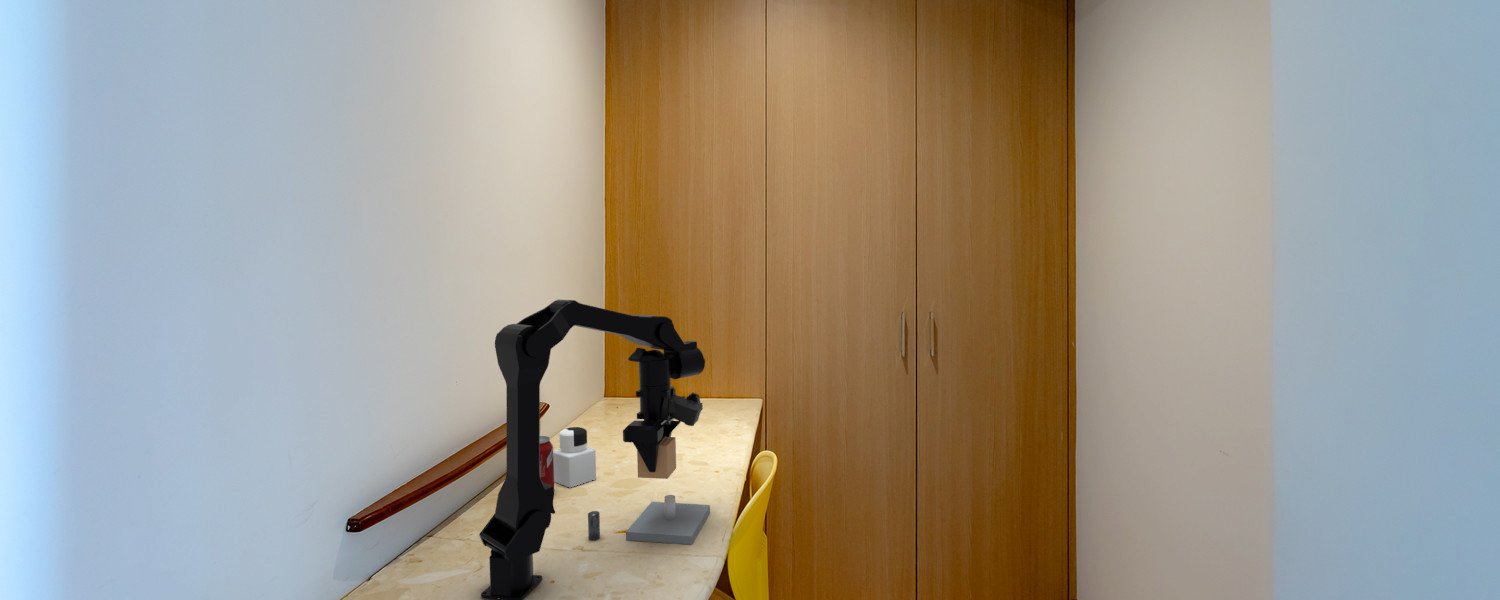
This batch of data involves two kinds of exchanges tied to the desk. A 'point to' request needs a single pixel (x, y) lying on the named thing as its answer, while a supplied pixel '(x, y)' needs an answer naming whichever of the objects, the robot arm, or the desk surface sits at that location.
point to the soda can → (546, 461)
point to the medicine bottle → (574, 458)
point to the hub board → (669, 522)
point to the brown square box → (660, 461)
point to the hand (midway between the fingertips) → (657, 466)
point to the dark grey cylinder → (594, 525)
